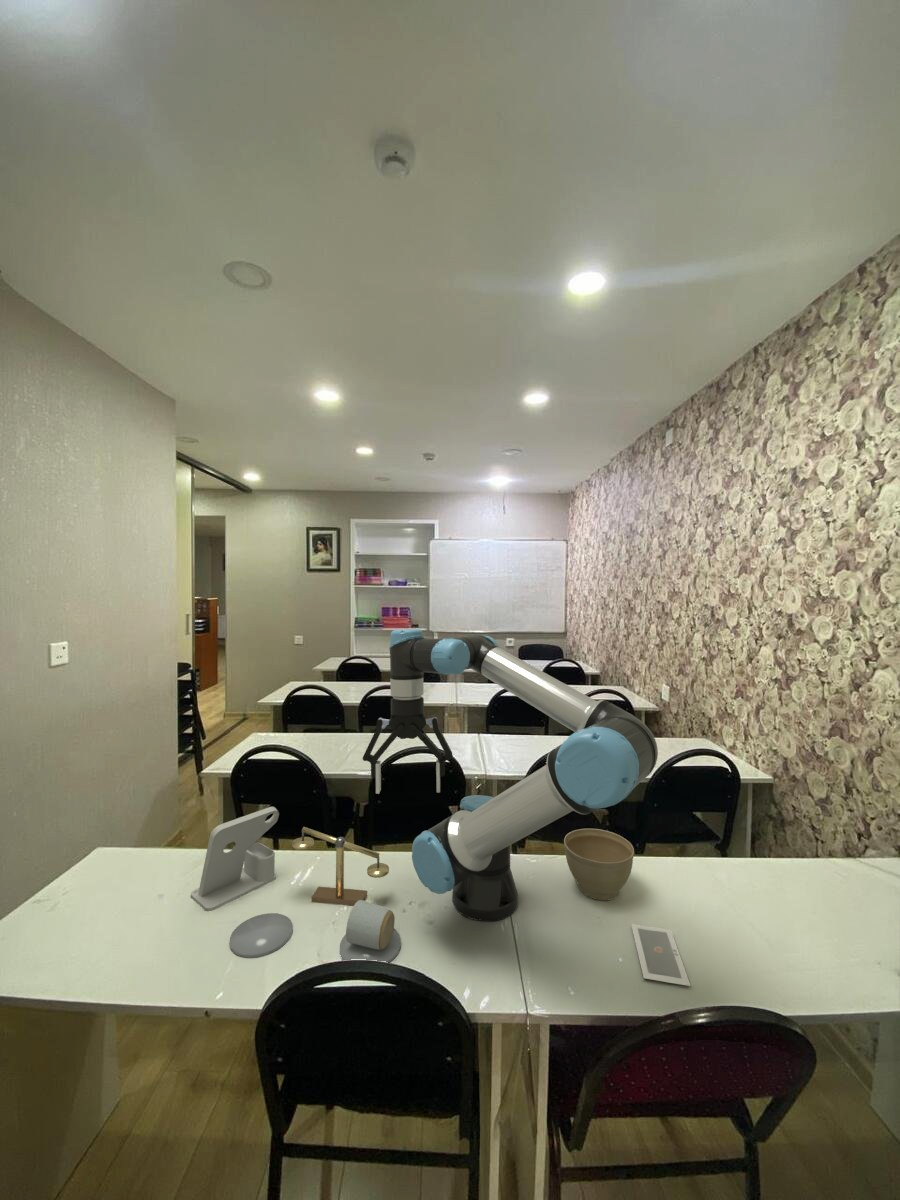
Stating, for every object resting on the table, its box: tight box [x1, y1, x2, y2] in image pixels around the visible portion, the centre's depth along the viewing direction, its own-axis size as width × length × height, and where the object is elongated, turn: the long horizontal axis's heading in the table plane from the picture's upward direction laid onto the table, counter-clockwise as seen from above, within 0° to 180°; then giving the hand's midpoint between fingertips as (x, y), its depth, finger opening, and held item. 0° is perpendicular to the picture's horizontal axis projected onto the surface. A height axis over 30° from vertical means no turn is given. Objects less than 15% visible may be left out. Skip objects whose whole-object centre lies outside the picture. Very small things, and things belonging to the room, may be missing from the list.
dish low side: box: [339, 928, 402, 963], centre depth 94 cm, size 12×12×1 cm
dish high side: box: [229, 912, 294, 959], centre depth 97 cm, size 12×12×1 cm
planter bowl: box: [563, 828, 635, 901], centre depth 114 cm, size 16×16×11 cm
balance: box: [291, 826, 390, 907], centre depth 110 cm, size 23×5×16 cm, turn 83°
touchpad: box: [631, 923, 691, 987], centre depth 93 cm, size 8×15×2 cm, turn 167°
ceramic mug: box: [345, 900, 395, 950], centre depth 96 cm, size 10×8×7 cm
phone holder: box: [190, 806, 280, 912], centre depth 114 cm, size 17×10×18 cm, turn 141°
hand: (408, 791), depth 107 cm, fingers open, 13 cm apart
